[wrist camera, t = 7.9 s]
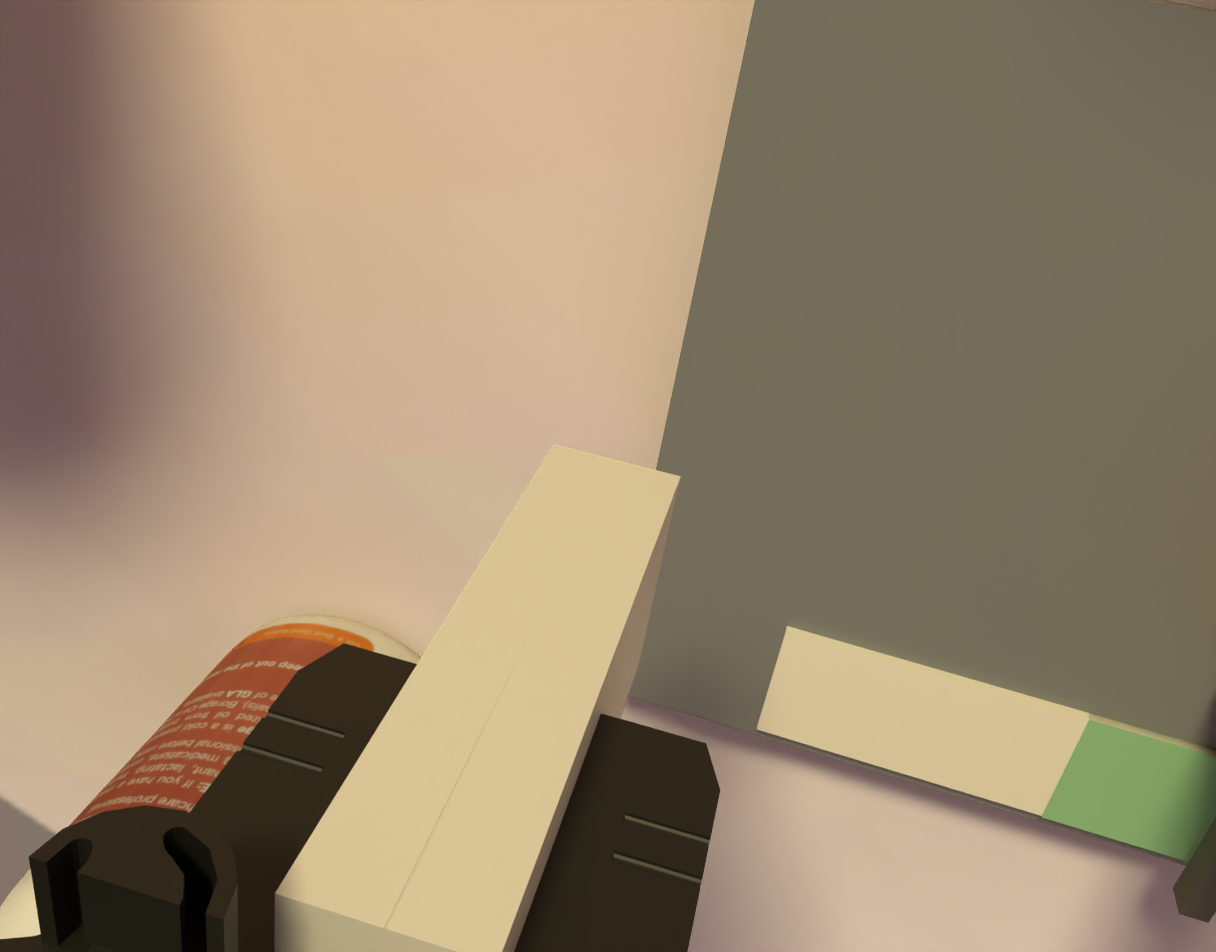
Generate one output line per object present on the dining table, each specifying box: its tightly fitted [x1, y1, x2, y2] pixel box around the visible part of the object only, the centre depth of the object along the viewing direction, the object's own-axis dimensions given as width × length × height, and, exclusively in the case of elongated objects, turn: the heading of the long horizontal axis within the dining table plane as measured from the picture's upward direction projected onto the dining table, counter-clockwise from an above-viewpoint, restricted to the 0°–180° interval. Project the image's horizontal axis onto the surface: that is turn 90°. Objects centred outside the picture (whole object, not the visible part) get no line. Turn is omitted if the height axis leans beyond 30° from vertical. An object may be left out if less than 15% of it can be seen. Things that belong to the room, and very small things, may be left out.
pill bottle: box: [0, 615, 421, 939], centre depth 22 cm, size 6×6×11 cm
